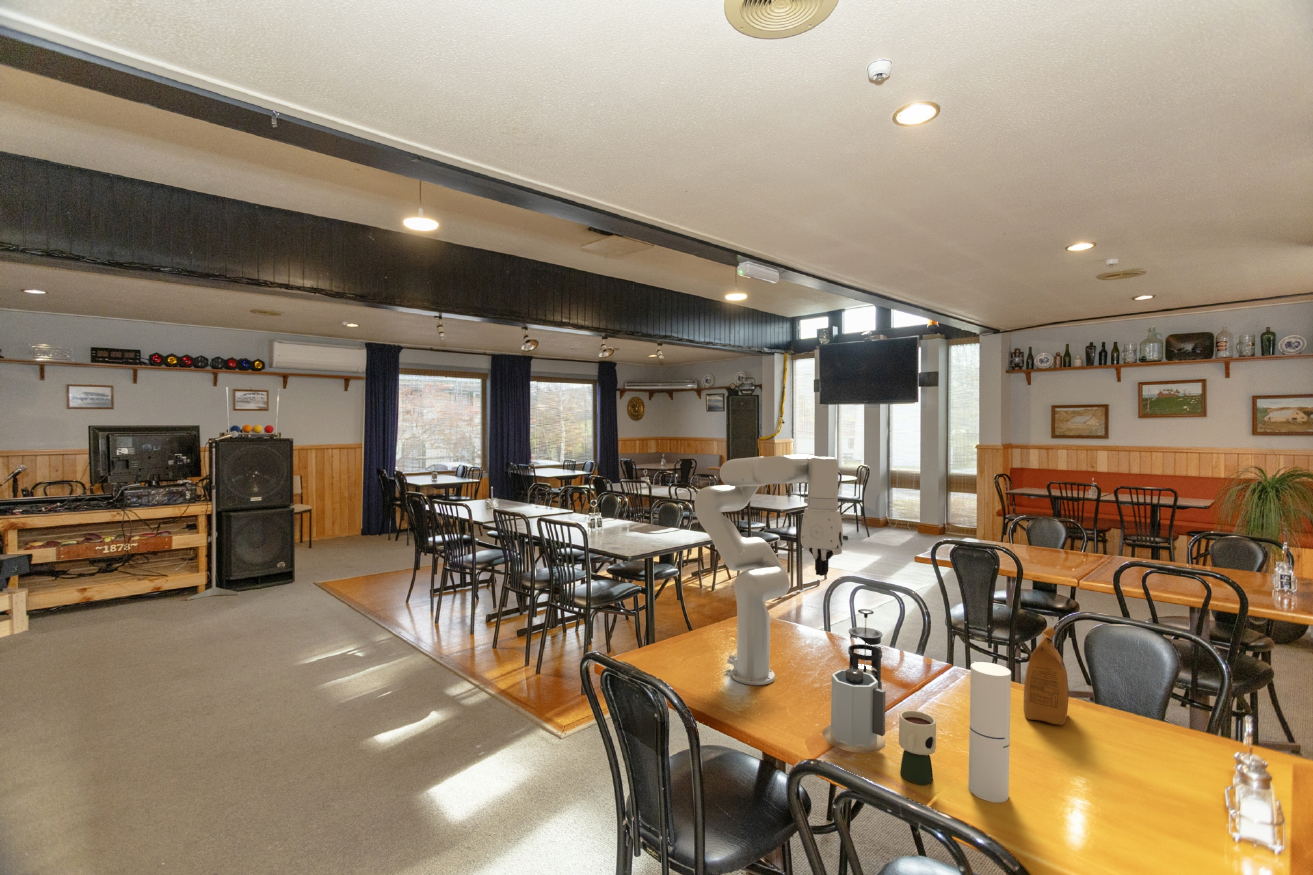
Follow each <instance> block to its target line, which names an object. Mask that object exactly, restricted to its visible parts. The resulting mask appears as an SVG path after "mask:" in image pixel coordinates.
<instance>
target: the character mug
mask: <svg viewBox="0 0 1313 875" xmlns="http://www.w3.org/2000/svg"><path fill="white" fill-rule="evenodd" d="M898 718H899V719H898V745H899V746H900V747H901V749H903V751H902V757H901V763H900V769H899V774H900V776H901V777H903V779H904V780H907V781H909V782H910V783H913V784H916V785H919V786H928V785H931V784H932V781H933V780H934V775H933V766H932V758H931V756H930V755H933V754H934V753H936V749H937V746H936V745H937V720H936V718H934V716H932V715H930V714H929V713H927V712H923V711H920V710H911V709H907V710H903V711H901V712H900V713H899V717H898Z"/></svg>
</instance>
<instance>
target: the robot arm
mask: <svg viewBox="0 0 1313 875" xmlns="http://www.w3.org/2000/svg"><path fill="white" fill-rule="evenodd" d="M719 478H720V480H721V481H722V482H723V483H724V484H718V485H710V486H705V487H703V488H701V489H700V490H698V491H697V493H696V495H695V497H694V512H695V516H696V518H697V521H698V522H699V524H700V525H701V527H702V528H703V529H704V531H705V532H706V533H707V535H708V536H709V538H710V539H711V541H712V543H713V545H714V547H715V548H716V551H717V552H718V554H719V556H720V558H721V560H722V561H723V564H725V567H727V568H728V569H729V570H731V571H733V572H738V571H742V572H740V573H739V574H738V575H737V576H736V577H735V580H734V583H733V588H734V595H735V601H736V610H737V611H736V613H737V614H736V616H737V617H736V619H737V620H736V623H737V625H736V626H737V628H736V630H737V632H736V633H737V634H736V655H734V654H729V656H728V658H727V663H726V664H729V665H732V666H733V668H732V670H731V672H730V673H731V674H730V675H731V677H732V679H733V680H734V681H736V682H738V683H741V684H744V685H750V686H764V685H769V684H771V683H773V682H774V681H775V679H776V675H775V672H774V671H773V670H772V669H770V661H771V660H770V657H771V656H770V655H771V654H770V653H771V652H770V651H771V616H770V612H769V609H768V608H767V605H766V602H767V601H770V600H774V599H779V598H782V597H784V596H785V595H786V594H787V593H789V590H790V585H791V584H790V579H789V578H790V577H789V575H788V573H787V571H786V569H785V567H784V566H783V564H782V562H781V561H780V560H779V558H778V556H777V554H776V553H775V551H774V550H773V549H772V546H771V545H770V544H769V543H768V542H767V541H766V540H765V539H763V538H762V537H759V536H748V537H744V536H743V535H741V533H740V531H739V530H738V529H737V526H736V525H735V523H733V522H732V520H730V519H729V518H728V517H727V516H725V515H724V514H722V513H725V512H737V511H741V510H743V509H744V508H746V506H748V504H749V503H750V501H751V500H752V499H753V497H754V495H755V494H756V493H757V491H758V490H759V488H760V487H764V486H767V485H779V484H780V485H781V484H783V485H785V484H797V483H808V484H807V485H808V486H807V498H806V497H804V499H803V503H804V504H806V505H807V506H806V507H805V508H804V511H803V515H802V520H801V527H800V544H801V545H802V548H803V550H806V551H808V552H809V553H810V554H811V556H812V558H813V560H814V571H815V576H816V575H817V576H821V577H822V576H826V575H828V572H829V560H830V559H831V558H832V557H834V556H838V555H842V553H843V549H842V547H843V545H844V544H843V543H844V531H843V520H842V515H841V510H839V508H838V507H839V504H838V502H839V501H838V499H839V498H838V497H839V461H838V459H837V458H836V457H833V456H816V455H813V454H812V455H811V454H785V455H772V456H761V455H760V456H753V457H743V458H740V457H739V458H733V459H729V460H726V461H725V462H724V463H723V464H722V465H721V467H720V469H719Z"/></svg>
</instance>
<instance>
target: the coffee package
mask: <svg viewBox="0 0 1313 875" xmlns="http://www.w3.org/2000/svg"><path fill="white" fill-rule="evenodd" d="M1056 633H1057V630H1055V629H1054V627H1053V626H1048V627H1047V628H1046V629H1044V630H1043V631H1042V632H1041V635H1042V637H1041V640H1040V642H1039V643H1038V645H1037V646H1036V648H1035V649H1034V650H1033V651H1032V653H1031V655H1030V657H1029V660H1028V664H1027V666H1026V669H1025V676H1024V686H1023V713H1024V714H1023V715H1024V717H1025V718H1026V719H1028V720H1030V721H1031V720H1032V721H1033V720H1034V721H1042V722H1046V723H1048V724H1053V725H1061V726H1063V725H1064V724H1065V722H1066V720H1067V715H1068V708H1069V696H1070V691H1069V690H1070V689H1069V678H1068V673H1067V668H1066V666H1065V662H1064V660H1063V658H1062V656H1061V655H1060V653H1059V651H1058V650H1057V648H1056V647H1055V645H1054V641H1053V639H1052V638H1053V637H1054V636H1055V635H1056Z"/></svg>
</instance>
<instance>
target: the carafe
mask: <svg viewBox="0 0 1313 875" xmlns="http://www.w3.org/2000/svg"><path fill="white" fill-rule="evenodd" d="M846 670H847V669H839V670H837V671H835V672H834V673H832V674H831V692H830V694H831V695H830V697H831V700H830V702H831V703H830V725H831V734H832V736H833V738H834V739H835V741H836V742H839V743H841V744H843V745H846V746H849V747H851V748H870V747H871V746H873V745H874V744H875V743H876V742H877V735H880V736H882V737H884V736H885V734H886V690H883V689H882V690H881V689H878V681H877V680H876V679H875V678H874V677H873V675H871V674H868V673H864V672H863V673H864V681H863V683H862V684H857V685H852V683H849V682H847V681H846Z"/></svg>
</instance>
